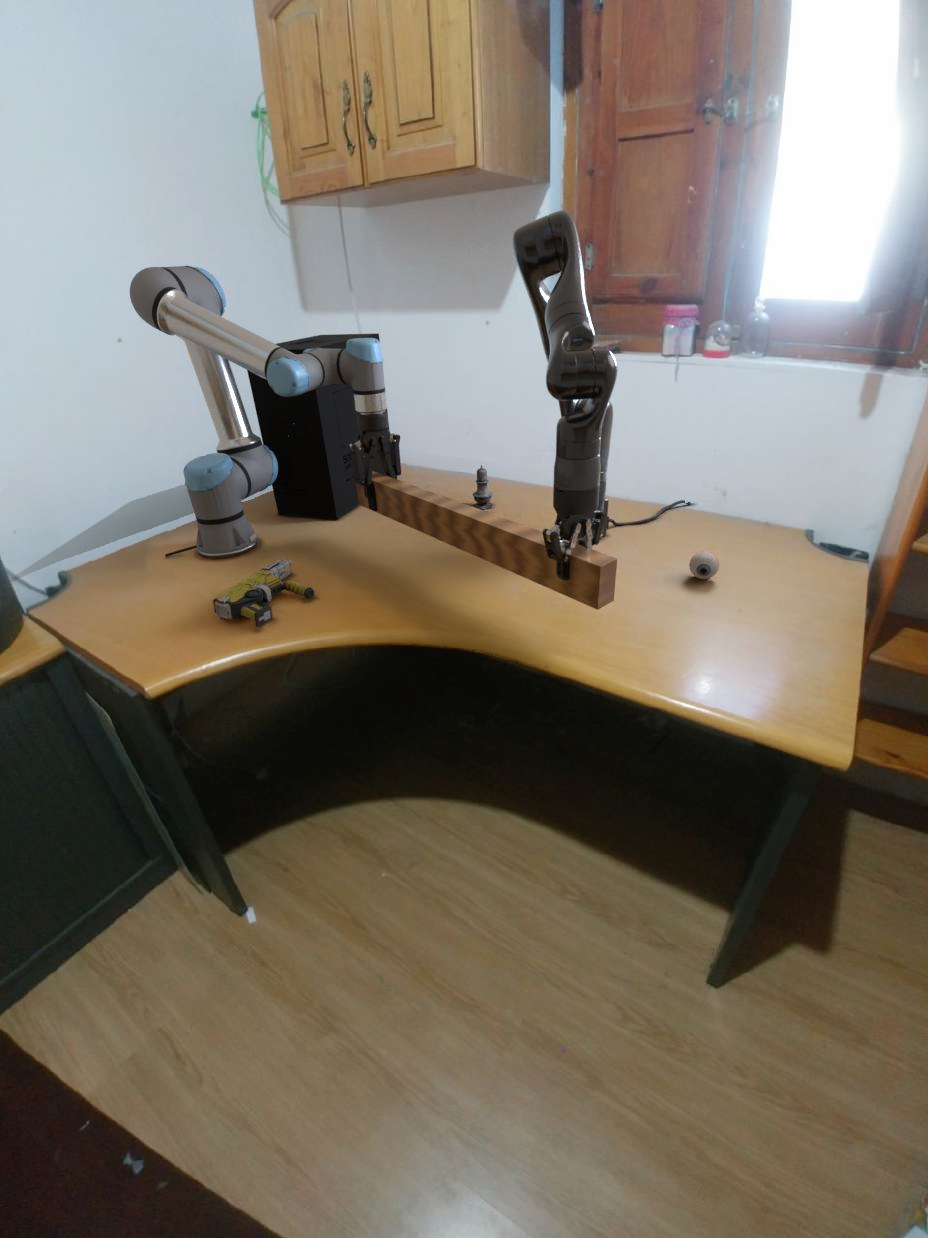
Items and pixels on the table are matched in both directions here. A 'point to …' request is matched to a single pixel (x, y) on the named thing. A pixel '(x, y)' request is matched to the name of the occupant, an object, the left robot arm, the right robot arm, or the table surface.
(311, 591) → the toy gun
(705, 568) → the eyeball
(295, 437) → the cardboard box
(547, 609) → the table surface
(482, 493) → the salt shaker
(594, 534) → the right robot arm
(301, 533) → the table surface
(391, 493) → the bar
